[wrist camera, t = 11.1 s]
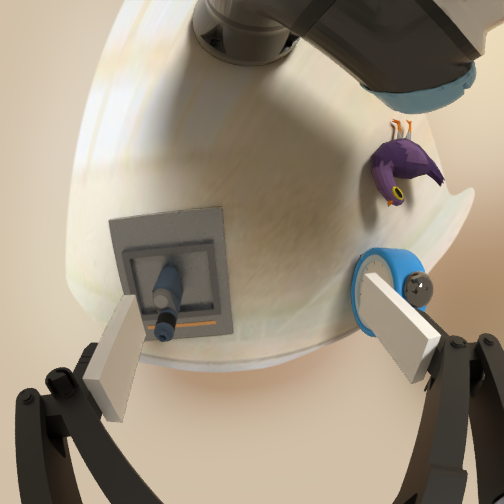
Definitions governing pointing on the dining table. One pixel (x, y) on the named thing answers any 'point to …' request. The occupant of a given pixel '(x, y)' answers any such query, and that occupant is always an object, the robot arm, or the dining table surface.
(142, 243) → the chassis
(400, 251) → the alarm clock
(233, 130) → the dining table surface
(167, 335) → the vaping device
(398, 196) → the toy
